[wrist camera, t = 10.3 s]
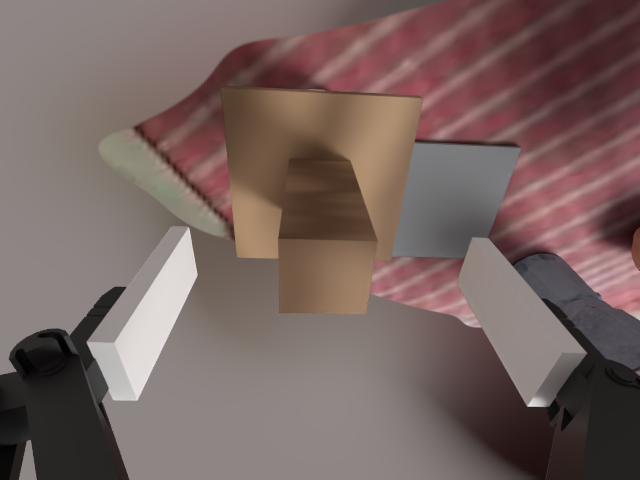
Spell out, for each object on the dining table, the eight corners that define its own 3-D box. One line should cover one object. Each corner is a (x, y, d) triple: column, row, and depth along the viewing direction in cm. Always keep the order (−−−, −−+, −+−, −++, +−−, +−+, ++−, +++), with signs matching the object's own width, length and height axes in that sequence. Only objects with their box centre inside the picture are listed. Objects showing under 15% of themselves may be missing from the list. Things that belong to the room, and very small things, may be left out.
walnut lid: (418, 95, 21) (509, 146, 11) (387, 253, 27) (430, 369, 18) (224, 85, 20) (152, 130, 11) (239, 250, 26) (202, 368, 17)
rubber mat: (518, 146, 35) (521, 148, 34) (478, 255, 42) (480, 258, 42) (377, 140, 34) (378, 141, 34) (361, 252, 41) (362, 255, 41)
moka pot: (601, 255, 43) (794, 400, 26) (510, 328, 50) (615, 482, 33) (554, 222, 40) (736, 362, 23) (464, 305, 47) (553, 460, 30)
